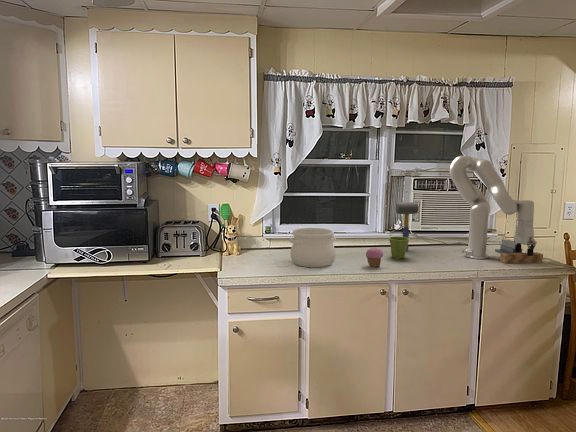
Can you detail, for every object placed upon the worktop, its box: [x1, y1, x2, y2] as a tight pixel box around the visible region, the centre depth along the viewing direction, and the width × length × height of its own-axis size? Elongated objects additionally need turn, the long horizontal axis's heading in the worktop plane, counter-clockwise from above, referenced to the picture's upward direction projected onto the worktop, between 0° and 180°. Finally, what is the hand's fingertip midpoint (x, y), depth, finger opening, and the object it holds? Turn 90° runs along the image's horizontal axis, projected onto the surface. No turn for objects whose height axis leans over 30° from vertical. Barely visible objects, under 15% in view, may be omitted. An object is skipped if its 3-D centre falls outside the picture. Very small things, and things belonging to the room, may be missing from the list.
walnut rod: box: [499, 251, 544, 265], centre depth 232 cm, size 22×4×5 cm, turn 96°
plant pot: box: [388, 236, 411, 260], centre depth 241 cm, size 12×12×11 cm
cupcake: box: [365, 247, 384, 268], centre depth 222 cm, size 9×9×10 cm
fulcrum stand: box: [494, 239, 523, 255], centre depth 251 cm, size 11×14×8 cm
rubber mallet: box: [395, 201, 419, 251], centre depth 258 cm, size 12×8×30 cm, turn 94°
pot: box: [289, 227, 337, 268], centre depth 228 cm, size 26×24×18 cm
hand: (524, 253), depth 232 cm, fingers open, 9 cm apart
